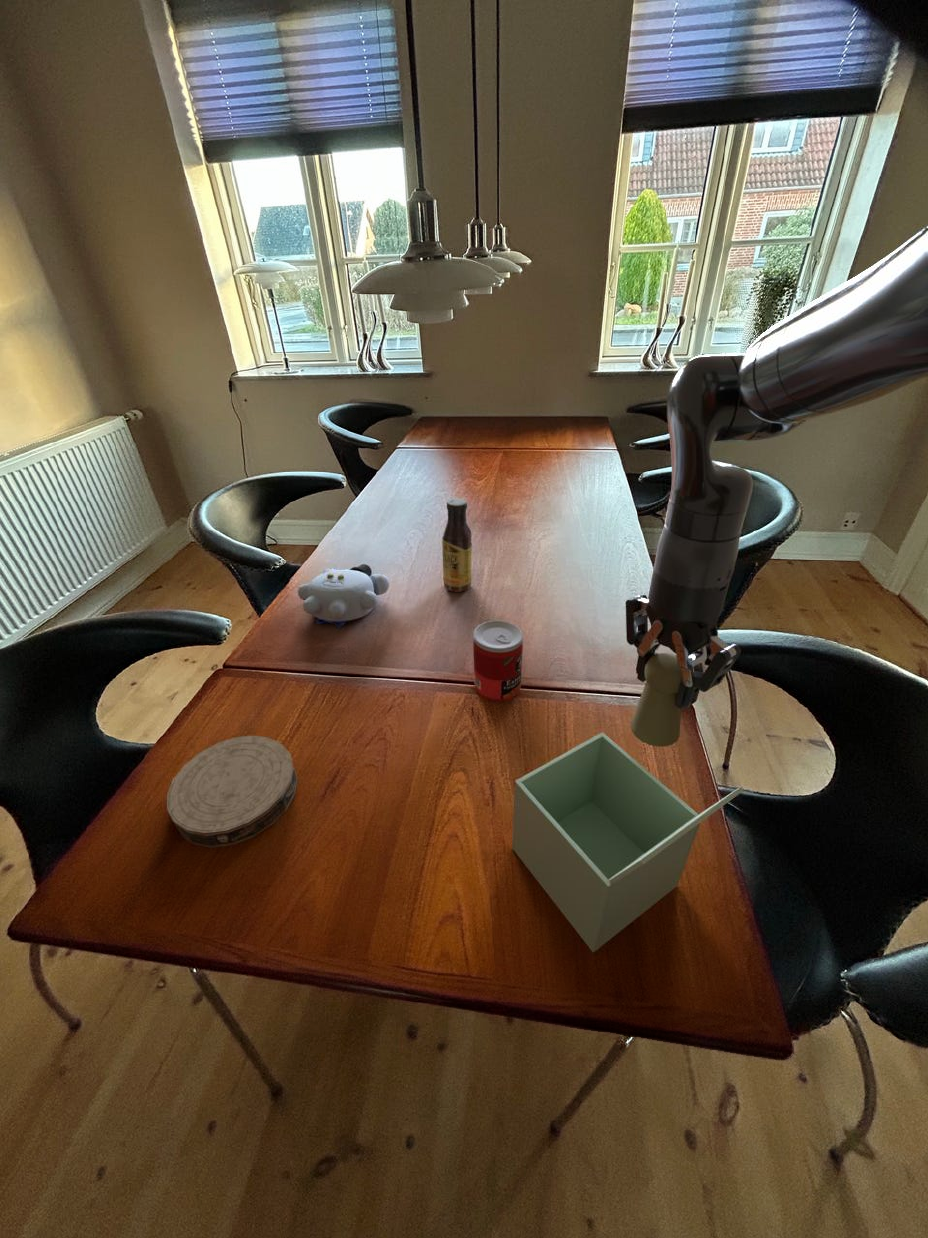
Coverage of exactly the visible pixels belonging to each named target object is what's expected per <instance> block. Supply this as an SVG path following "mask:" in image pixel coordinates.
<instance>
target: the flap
mask: <svg viewBox="0 0 928 1238" xmlns="http://www.w3.org/2000/svg"><path fill="white" fill-rule="evenodd" d="M744 791H745V789H744V788H743V786H739V787H738V788H736V789H735V790H733V791H731V792H730V793H729V794H727V795H725V796H724V797H723V798H721V799H720V800H718V801H717V802H715V803H713V805H711V806H710V807H708V808H707V809H705V810H703V811H702V812H701V813H698V814H699V815H698V816H697V817H695V818H694V819H693V820H691V821H690V822H688V823H687V824H686V825H684V826H683V827H682V828H680V829H679V830H677V831H676V832H675V833H673V834H672V835H671V836H669V837H668V838H666V839H665V840H664V841H662V842H661V843H660V844H658V845H657V846H655V847H654V848H653V849H651V850H650V851H649V852H647V853H646V854H644V855H643V856H642V857H640V858H639V859H638V860H636V861H635V862H633V863H632V864H631V865H629V866H628V867H627V868H625V869H624V870H622V871H621V872H620V873H618V874H617V875H616V876H614V877H613V878H611V879H610V880H609V882H610V883H611V885H612V884H614V883H615V882H617V881H618V880H620V879H622V878H623V877H625V876H626V875H628V874H630V873H631V872H633V871H634V870H636V869H637V868H639V867H641V866H642V865H644V864H645V863H646V862H648V861H649V860H651V859H652V858H653V857H655V856H656V855H657V854H659V853H660V852H661V851H663V850H664V849H665V848H667V847H668V846H669V845H671V844H672V843H674V842H675V841H676V840H678V839H679V838H680V837H682V836H683V835H684V834H686V833H687V832H688V831H690V830H691V829H692V828H694V827H695V826H697V825H698V824H699V823H700V824H701V823H702V822H704V821H705V820H706V819H708V818H709V817H711V816H712V815H713V814H714V813H716V812H717V811H718V810H719V809H721V808H722V807H724V806H725V805H726V804H728V803H729V802H731V801H732V800H733V799H734V798H736V797H738V796H739V795H740V794H742V792H744Z"/></svg>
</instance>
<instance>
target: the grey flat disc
mask: <svg viewBox="0 0 928 1238" xmlns="http://www.w3.org/2000/svg"><path fill="white" fill-rule="evenodd" d="M297 785H298V778H297V773H296V769H295V766H294V762H293V760H292V755H291V753H290V752H289V750H288V749H287V748H286V746H284V744H282V742H279V741H278V740H275V739H273V738H271V737H269V736H261V735H243V736H235V737H232V738H229V739H225V740H223V741H219V742H216V743H215V744H213V745H211V746H209V747H207V748H205V749H203V750H201V751H200V752H199V753H197V754H196V755H194V757H192V758H191V759H190V760H188V761H187V762H186V763H185V764H183V766H182V767H181V769H180V770H179V771H178V772H177V773H176V775H175V776H174V777H173V779H172V781H171V784H170V785H169V788H168V791H167V793H166V811H167V812H168V814H169V816H170V817H171V820H172V822H173V823H174V825H175V827H176V828H177V831H178V832H179V834H180V836H181V837H182V838H184V839H185V840H187V841H188V842H190V843H191V844H193V845H195V846H201V847H206V848H221V847H229V846H234V845H237V844H239V843H242V842H244V841H247V840H251V839H253V838H255V837H256V836H258V835H259V834H261V833H263V832H265V830H267V829H269V828H270V827H272V826H273V825H274V824H275V823H276V822H278V820H279V818H280V817H282V815H284V813H285V812H286V811H287V810H288V808H289V806H290V804H291V802H292V800H293V799H294V797H295V795H296V789H297Z"/></svg>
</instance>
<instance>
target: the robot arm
mask: <svg viewBox="0 0 928 1238" xmlns="http://www.w3.org/2000/svg"><path fill="white" fill-rule="evenodd" d="M924 378H928V224H927V225H926V226H924V227H923V228H922V229H920V230H919V231H918V232H917V233H916V234H914V235H913V236H911V237H910V238H909V239H908V240H906V241H905V242H904V243H903V244H901V245H900V246H899V247H897V248H896V249H894V250H893V251H892V252H890V253H889V254H888V255H886V256H885V257H884V258H882V259H881V260H878V261H877V262H876V263H875V264H873V265H872V266H870V267H868V268H867V269H866V270H864V271H862V272H860V273H859V274H857V275H855V276H854V277H852V278H851V279H849V280H847V281H845V282H844V283H842V284H841V285H839V286H838V287H836V288H833V289H832V290H831V291H829V292H827V293H826V294H824V295H822V296H820V297H819V298H817V299H815V300H813V301H812V302H810V303H808V304H807V305H805V306H803V307H802V308H801V309H799V310H797V311H796V312H794V313H793V314H791V315H789V316H787V317H786V318H784V319H783V320H780V321H779V322H778V323H776V324H774V325H773V326H771V327H770V328H769V329H767V330H766V331H765V332H763V333H762V334H760V336H758V338H756V340H754V342H753V343H752V344H751V345H750V346H749V348H748V349H747V350H746V352H745V353H726V354H725V353H722V354H721V353H720V354H703V355H698V356H695V357H693V358H691V359H688V360H687V361H686V362H685V363H684V364H682V365H681V366H680V368H679V369H678V371H677V372H676V373H675V375H674V377H673V378H672V380H671V383H670V385H669V387H668V391H667V396H666V419H667V427H668V428H667V429H668V434H669V444H670V459H671V460H670V461H671V488H670V495H669V499H668V503H667V510H666V514H665V519H664V524H663V528H662V531H661V534H660V537H659V540H658V543H657V548H656V553H655V557H654V558H655V559H654V564H653V569H652V575H651V579H650V586H649V590H648V596H647V594H645V593H640V594H638V595H636V596H634V597H631V598H629V599H626V601H625V630H626V631H625V634H626V637H625V638H626V642H627V643H628V645H630V646H634V647H635V648H636V653H637V654H638V655H637V661H636V665H635V667H636V668H635V673H636V674H637V676H636V679H637V680H638V681H640V682H641V683H643V682H647V681H646V678H645V674H644V673H645V665H646V663H647V662H648V660H649V659H650V658H651V657H653V656H654V655H656V654H659V652H657V651H658V650H659V648H660V647H661V646H663V647H666V648H669V649H670V651H671V652H672V653H674V654H675V655H676V657H677V664H678V667H681V670H682V678H683V682H681V684H680V687H679V691H678V695H677V699H676V703H675V706H677V707H678V708H680V709H682V710H683V709H684V708H689V707H690V706H692V705H695V703H696V702H697V701H698V697H699V694H700V691H701V692H702V693H706V692H708V691H709V690H710V689H713V688H714V687H716V686H718V685H720V684H721V683H723V680H724V679H725V677H726V675H727V674H728V672H729V671H730V670H731V668H732V667H733V665H735V662H736V660H737V659H738V658H739V656H740V655H741V652H742V650H741V646H739V645H738V644H737V643H732V644H730V645H729V644H728V643H726V642H725V641H724V640H723V639H721V638H720V637H719V631H718V627H717V626H718V625H717V622H718V621H719V618H720V616H721V614H722V611H723V607H724V605H725V600H726V597H727V594H728V591H729V587H730V583H731V580H732V577H733V575H734V572H735V566H736V562H737V560H738V559H737V558H738V554H739V546H740V538H741V534H742V529H743V526H744V522H745V519H746V516H747V513H748V509H749V505H750V501H751V497H752V494H753V488H754V480H753V476H752V475H751V473H750V472H749V471H748V470H746V469H744V468H743V467H742V466H738V465H735V464H731V463H728V462H722V461H717V460H713V459H712V446H713V443H728V442H730V443H731V442H747V441H749V442H750V441H751V442H752V441H762V440H767V439H772V438H778V437H780V436H783V435H787V434H788V433H790V432H792V431H793V430H795V429H796V428H798V427H799V426H801V425H802V424H804V423H805V422H807V421H808V420H813V419H816V418H820V417H824V416H826V415H830V414H834V413H836V412H840V411H843V410H847V409H850V408H855V407H856V406H860V405H863V404H866V403H868V402H871V401H874V400H876V399H879V398H882V397H884V396H886V395H889V394H890V393H893V392H895V391H897V390H899V389H902V388H903V387H906V386H908V385H910V384H912V383H915V382H917V381H920V380H922V379H924ZM649 624H650V628H649ZM707 646H708V647H709V648H710V654H709V656H708V653H707ZM707 659H709V661H710V663H709V665H708V666H707V667H706V661H707Z"/></svg>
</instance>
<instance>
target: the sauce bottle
mask: <svg viewBox="0 0 928 1238" xmlns="http://www.w3.org/2000/svg"><path fill="white" fill-rule="evenodd" d="M446 509H447V521H446V525H445V528H444V531H443V535H442V538H441V543H442V544H441V548H442V549H441V550H442V580H443V585H444V587H445V589H446V590H447V591H451V592H454V593H460V592H464V591H467V590H468V589H469V588H470V587H471V585H472V576H473V574H472V572H473V571H472V570H473V569H472V566H473V565H472V563H473V543H472V534H473V533H472V530H471V528H470V526H469V525H468V523H467V509H468V501H467V500H466V499H464V498H461V497H452V498H450V499H448V500H447V501H446Z"/></svg>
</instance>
